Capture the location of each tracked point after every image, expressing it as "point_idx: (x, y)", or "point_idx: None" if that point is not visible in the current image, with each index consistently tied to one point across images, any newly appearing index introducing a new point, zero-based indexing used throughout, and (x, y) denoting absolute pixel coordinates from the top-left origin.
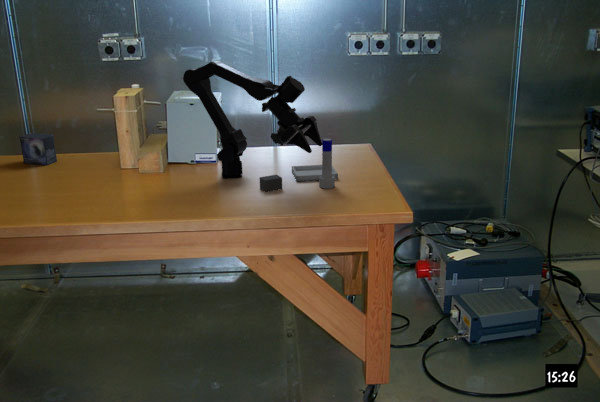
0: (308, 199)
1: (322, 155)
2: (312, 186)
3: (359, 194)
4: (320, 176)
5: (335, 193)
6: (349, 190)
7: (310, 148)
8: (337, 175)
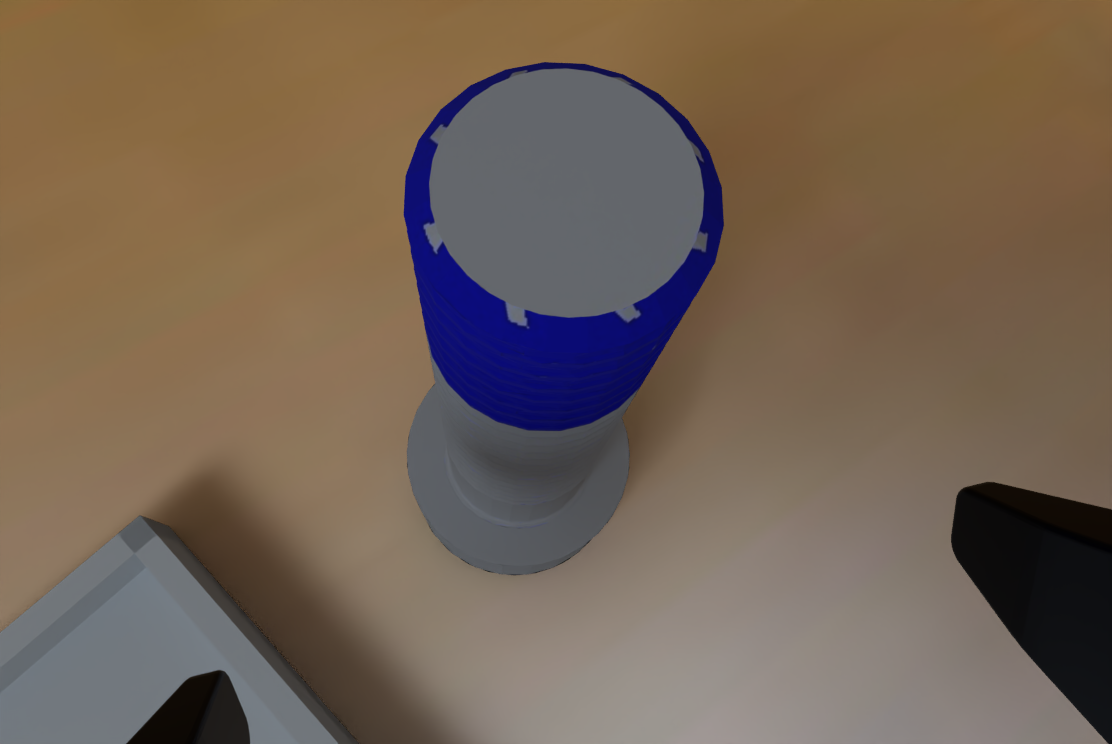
0: (1006, 401)
1: (591, 436)
2: (605, 644)
3: (543, 56)
4: (528, 561)
5: None
6: None
7: (1034, 500)
8: (150, 524)
